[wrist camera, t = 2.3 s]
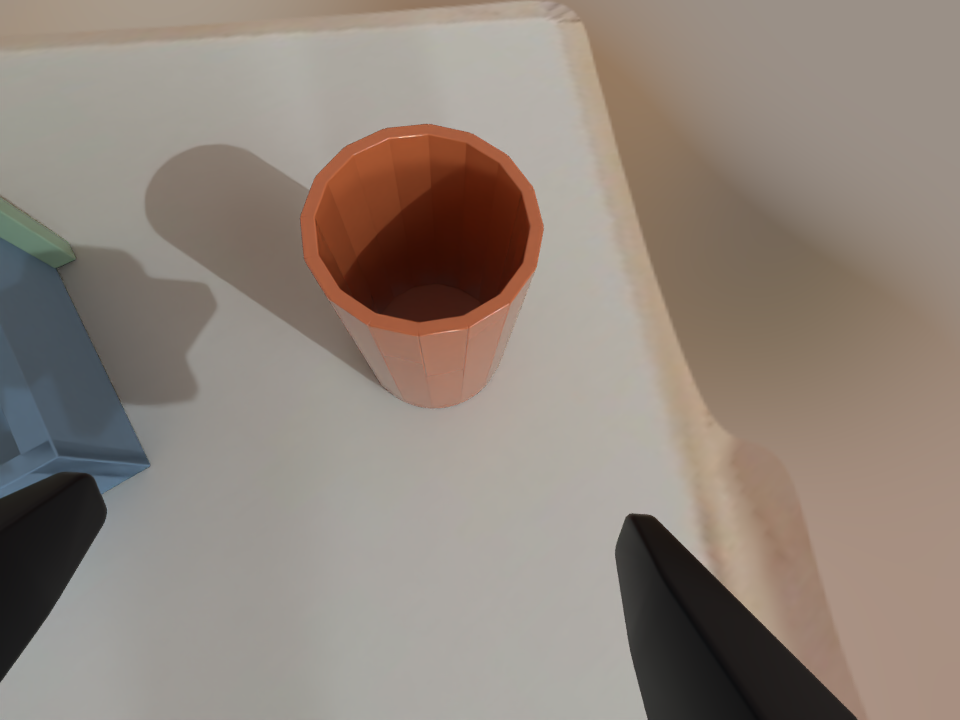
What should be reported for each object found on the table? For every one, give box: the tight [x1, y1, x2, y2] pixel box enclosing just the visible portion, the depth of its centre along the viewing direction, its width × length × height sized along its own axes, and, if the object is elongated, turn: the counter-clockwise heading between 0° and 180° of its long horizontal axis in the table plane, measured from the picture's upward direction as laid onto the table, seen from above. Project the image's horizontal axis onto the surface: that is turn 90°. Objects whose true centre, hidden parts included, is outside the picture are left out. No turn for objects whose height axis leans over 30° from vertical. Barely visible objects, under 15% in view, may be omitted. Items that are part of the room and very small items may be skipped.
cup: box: [300, 124, 544, 408], centre depth 18 cm, size 7×7×10 cm
